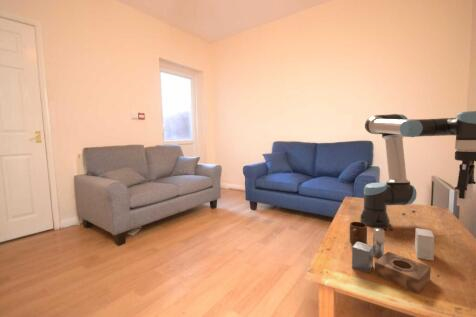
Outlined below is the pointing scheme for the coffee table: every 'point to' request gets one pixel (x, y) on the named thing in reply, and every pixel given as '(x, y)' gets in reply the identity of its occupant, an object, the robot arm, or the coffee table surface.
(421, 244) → the small box
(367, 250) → the square block
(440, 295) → the coffee table surface
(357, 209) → the coffee table surface
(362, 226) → the mug
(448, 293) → the coffee table surface
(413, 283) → the socket block
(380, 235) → the round peg
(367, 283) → the coffee table surface
